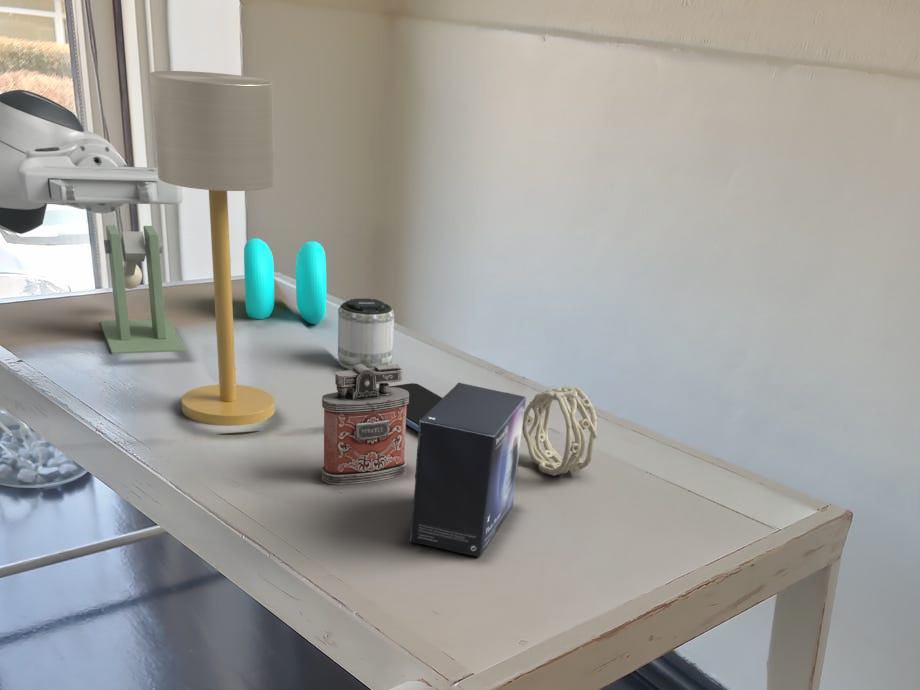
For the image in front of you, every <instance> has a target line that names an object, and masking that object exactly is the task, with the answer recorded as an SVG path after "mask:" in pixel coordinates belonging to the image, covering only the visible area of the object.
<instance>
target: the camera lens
mask: <svg viewBox="0 0 920 690" xmlns="http://www.w3.org/2000/svg"><path fill="white" fill-rule="evenodd" d="M337 313H338V315H337V316H338V317H337V358H338V364H339V366H341V368H342V369H343V371H350V370H352V369H353V367H354V366H355V365H357V364H362V365H364V366H366V367H367V368H368V369H372V368H375V366H384V365H392V364H393V363H392V362H393V355H394V353H393V352H394V351H393V350H394V332H395V331H394V329H395V311H394V310H393V308H392V307H391V306H390V304H387V303H385V302H383V301H381V300H379V299H376V298H350V299H349V300H346V301H344V302H342V303H341V304H340V306H339V307H338V309H337Z"/></svg>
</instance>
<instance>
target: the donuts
mask: <svg viewBox="0 0 920 690" xmlns="http://www.w3.org/2000/svg"><path fill="white" fill-rule="evenodd" d="M295 259H296V260H295V296H296V305H297V310H298V312H299V314H300V316H301V317H302V318H303V320H304V321H306V322H307V323H309V324H312V325H316V324H319V323H321V322H323V320H324V319H325V316H326V313H327V311H326V310H327V292H328V291H327V284H328V283H327V282H328V281H327V261H326V251H325V249H324V246H322V245H321V243H319V242H318V241H314V240H310V241H307V242H305V243H304V244H302V245H301V247H300V248H299V250H298V252H297V256H296V258H295ZM243 263H244V264H243V269H244V296H245V297H244V298H245V312H246V315H247V316H248V317H249V318H251V319H254V320H265V319H268V318H269V317H270V316H271V314H272V313H273V311H274V308H275V301H276V300H275V265H274V263H275V262H274V256H273V253H272V250H271V248H270V247H269V245H268V244H267V243H266V242H265V241H264V240H262V239H260V238H257V237H255V238H251V239H249V240H247V241H246V243H244V247H243Z"/></svg>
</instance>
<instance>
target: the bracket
mask: <svg viewBox="0 0 920 690" xmlns="http://www.w3.org/2000/svg"><path fill="white" fill-rule="evenodd" d="M142 228H143V236H144V242H145V249H146V256H145V260H146V272H147V283H148V295H149V306H150V316H151V317H150V318H151V319H149V318H148V319H130V318H129V309H128V302H127V301H128V300H127V291H126V290H127V288H125V279H124V270H123V261H124V259H123V251H122V245H121V234H120V231H119V230H118V228H117V226H116V225H115V224H112V225H111V224H109V225H108V224H106V225H105V231H106V239H104V240H103V246H104V253H105V254H108V259H109V260H108V261H109V269H110V278H111V279H110V280H111V287H112V297H113V307H114V315H115V319H114V320H113V319H112V320H110V319H109V320H100V321H99V324H100V327H101V330H102V332H103V335H104V337H105V339H106V343H107V345H108V348H109V350H110V353H111V354H112V355H122V354H147V353H148V354H149V353H152V354H153V353H176V352H178V353H179V352H187V350H186V349H187V348H186V347H185V345H184V344H183V342H182V340H181V338H180V336H179V335H178V333H177V331H176V330H175V327H174V326H173V323H172V322H171V320H170V319H169V318H166V313H165V302H164V301H165V300H164V290H163V289H164V288H163V277H162V264H161V254H163V246H162V243H163V242H162V240H161V239H159V234H158V232H157V230H156V229H155V228H154V226H153V225H143V227H142Z"/></svg>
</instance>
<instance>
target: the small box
mask: <svg viewBox="0 0 920 690" xmlns="http://www.w3.org/2000/svg"><path fill="white" fill-rule="evenodd" d="M526 401H527V397H526V396H524V395H519V394H514V393H510V392H505V391H499V390H495V389H490V388H485V387H482V386H477V385H472V384H468V383H463V382H458V383H457V384H456V385H455V386H453V388H451V389H450V390H449V392H447V394H445V395H444V396H443V397H442V399H441V400H440V401H439V402H438V403H437V404H436V405H435V406H434V407H433V408H432V409H431V410H430V411H429V412H428V413H427V414H426V415H425V416H424V417H423V418H422V419H421V420H420V421H419V432H418V431H417V446H416V460H415V461H416V463H415V474H414V479H415V480H414V491H413V503H412V504H413V506H412V516H411V525H410V535H409V542H410V543H414V544H418V545H423V546H428V547H431V548H437V549H441V550H446V551H450V552H454V553H459V554H464V555H466V556H467V555H468V556H473V557H477V558H480V557H481V556H483V554H484V553H485V551H486V549H487V547H488V546H489V545H490V543H491V541H492V540H493V539H494V537H495V535H496V534H497V532H498V531H499V529H500V528H501V526H502V524H503V523H504V522H505V521H506V519H507V517H508V515H509V514H510V512H511V511H512V509H513V505H514V499H515V492H516V491H515V489H516V481H517V475H518V466H519V459H520V458H519V457H520V450H521V442H522V434H523V430H522V426H523V418H524V412H525V410H526Z"/></svg>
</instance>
